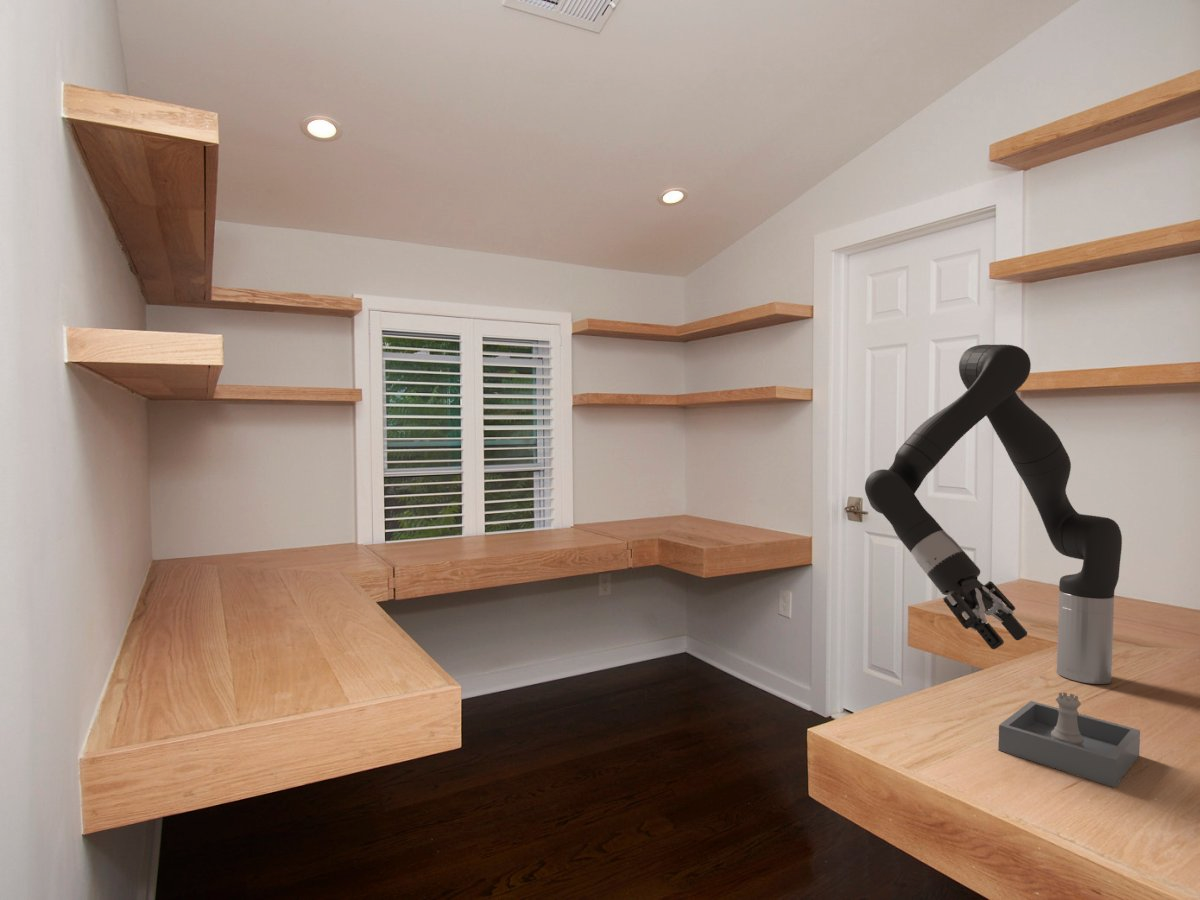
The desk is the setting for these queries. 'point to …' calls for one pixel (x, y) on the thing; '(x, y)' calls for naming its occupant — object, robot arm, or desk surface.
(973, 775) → the desk surface
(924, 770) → the desk surface
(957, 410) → the robot arm
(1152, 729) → the desk surface
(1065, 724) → the rook chess piece
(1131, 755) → the tray
